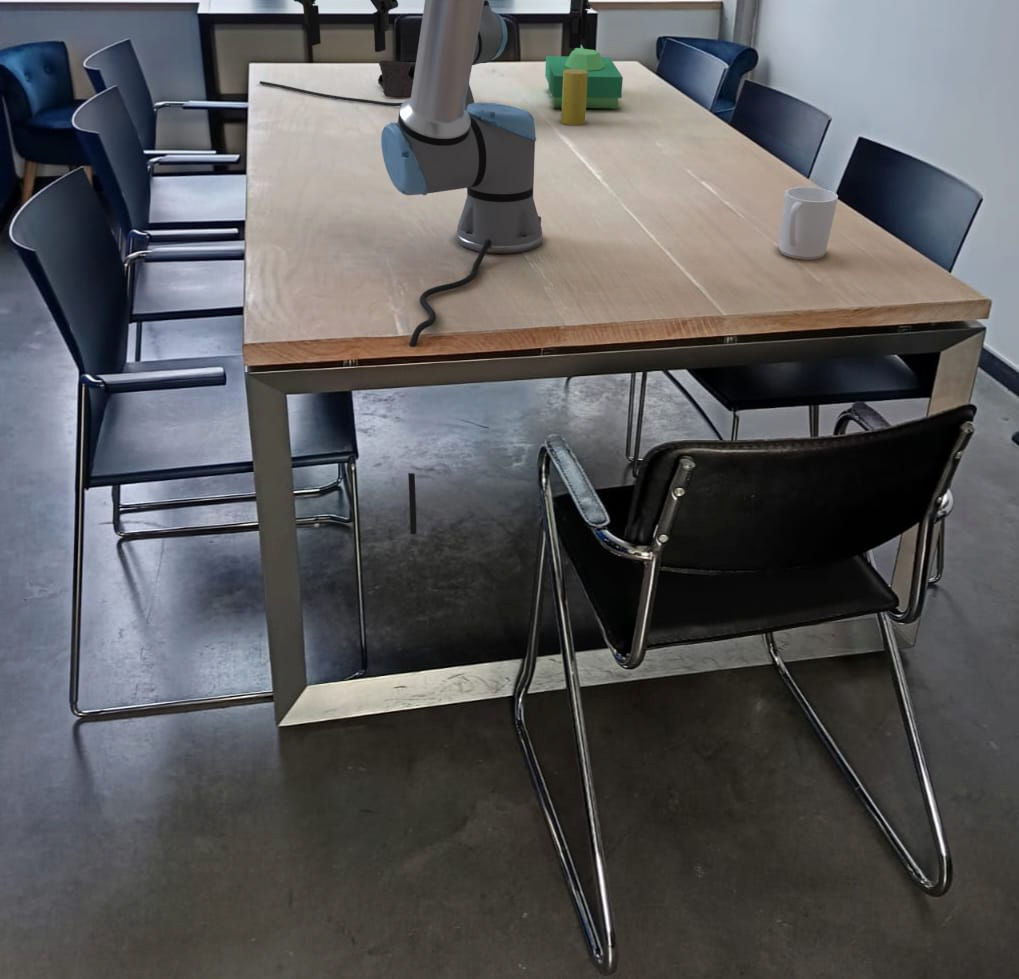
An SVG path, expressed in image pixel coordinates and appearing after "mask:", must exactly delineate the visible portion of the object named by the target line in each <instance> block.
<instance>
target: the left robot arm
mask: <svg viewBox="0 0 1019 979" xmlns="http://www.w3.org/2000/svg"><path fill="white" fill-rule="evenodd" d="M591 8H592V5H591V4H590V1H589V0H570V6H569V12H568V13H566V18H567V19H569V37H568V38H569V39H568V48H569V49H575V48H581V45H582V40H587V31H588V10H591ZM507 42H508V28H507V24H506V22H505V20H504V18H503V17H502V16H501V15H500V14H498V13H497V12H495V11H493V10H492V8H491V5H490V3H489V0H484V5H483V10H482V15H481V21H480V26H479V31H478V37H477V42H476V48H475V53H474V58H473V64H472V66H476V65H479V64H487V63H489V62H491V61H493V60H495V59H497V58H499V57H500V56H501V55H502V53H503V52H504V51H505V48H506V45H507ZM259 85H262V86H263V85H264V86H267V87H268V86H269V87H273V88H280V89H285V90H287V91H293V92H298V93H301V94H306V95H311V96H316V97H321V98H327V99H333V100H340V101H346V102H354V103H363V104H372V105H379V106H387V107H401V105H402V103H403V102H388V101H379V100H373V99H364V98H355V97H348V96H347V97H346V96H340V95H334V94H328V93H321V92H317V91H312V90H307V89H303V88H302V89H301V88H297V87H293V86H289V85H284V84H279V83H273V82H268V81H262V80H260V81H259ZM472 103H475V99H474V96H473V91H472V88H471V85H470V84H469V85H468V90H467V96H466V101H465V106H464V109H465V110H467V106H468V105H469V104H472Z"/></svg>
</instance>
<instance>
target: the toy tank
mask: <svg viewBox="0 0 1019 979" xmlns="http://www.w3.org/2000/svg"><path fill="white" fill-rule="evenodd" d="M567 69H582V70H586V71H588V79H587V98H586V109H618V102H619V99H622V93H623V80H624V76H623V75H622V74H621V72H620V70H618V68H617V67H616V64H615V63H614V62H613V60H612V58H611V57H610V56H609V57H608V56H601V53H600V51H597V50H595V49H588V48H584V47H583V45H582V44H581V48H574V49H573V50H572V51H571V52H570V54H569V56H567V55H566V56H565V55H564V56H559V55H556V56H555V55H546V56H545V74H544V76H545V79H546V81H547V85H548V86H547V87H548V91H549V92H551V96H552V104H553V108H554V109H562V91H563V71H564V70H567Z"/></svg>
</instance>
